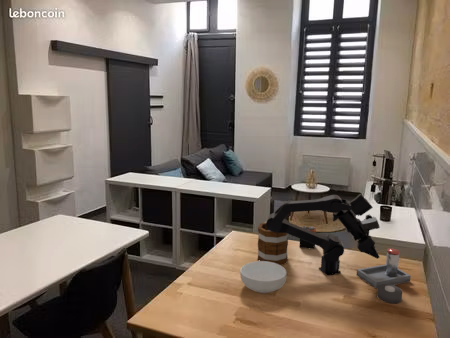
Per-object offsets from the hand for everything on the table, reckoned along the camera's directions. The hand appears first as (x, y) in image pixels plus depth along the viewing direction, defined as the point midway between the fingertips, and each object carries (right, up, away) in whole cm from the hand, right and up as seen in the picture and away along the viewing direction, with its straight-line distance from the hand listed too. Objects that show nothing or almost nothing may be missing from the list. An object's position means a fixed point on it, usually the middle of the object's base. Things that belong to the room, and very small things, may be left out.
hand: (376, 253), depth 144 cm
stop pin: (+6, -8, 0) cm, 10 cm away
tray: (+2, -10, -1) cm, 10 cm away
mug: (-39, -6, +20) cm, 44 cm away
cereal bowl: (-45, -11, -7) cm, 47 cm away
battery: (-20, -4, +30) cm, 37 cm away
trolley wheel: (-1, -12, -14) cm, 19 cm away
